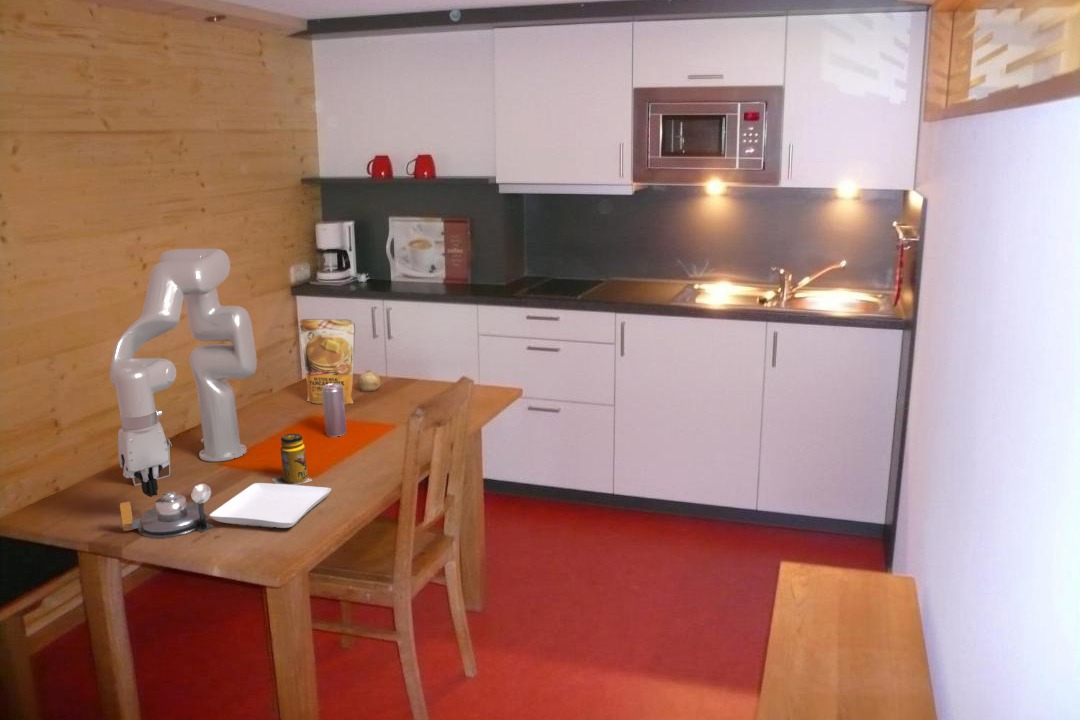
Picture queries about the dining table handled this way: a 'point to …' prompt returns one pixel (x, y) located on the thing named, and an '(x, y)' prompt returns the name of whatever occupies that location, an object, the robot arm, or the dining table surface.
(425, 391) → the dining table surface
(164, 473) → the food container
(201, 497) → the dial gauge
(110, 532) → the dining table surface
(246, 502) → the salad plate
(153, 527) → the turntable
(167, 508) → the cover
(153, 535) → the turntable base
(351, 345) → the pancake mix bag
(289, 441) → the condiment
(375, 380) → the onion
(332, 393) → the beverage can
